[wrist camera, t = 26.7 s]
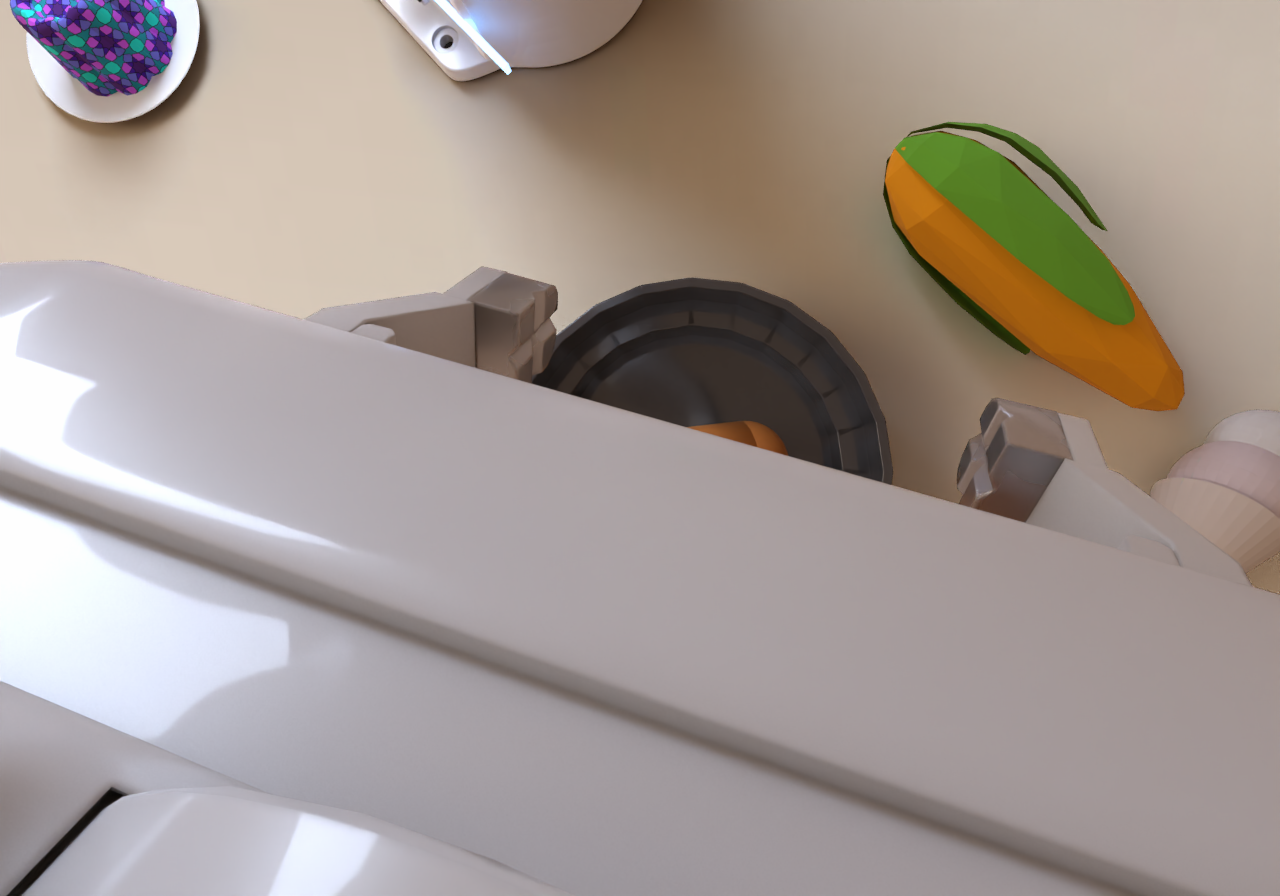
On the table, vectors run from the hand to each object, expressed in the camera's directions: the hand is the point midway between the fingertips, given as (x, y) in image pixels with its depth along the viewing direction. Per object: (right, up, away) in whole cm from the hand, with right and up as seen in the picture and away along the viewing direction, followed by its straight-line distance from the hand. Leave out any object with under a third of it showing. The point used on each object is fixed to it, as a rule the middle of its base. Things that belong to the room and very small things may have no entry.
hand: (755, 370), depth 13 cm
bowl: (+1, -3, +29) cm, 29 cm away
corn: (+19, +8, +28) cm, 35 cm away
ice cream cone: (+28, -6, +27) cm, 39 cm away
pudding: (-36, +25, +33) cm, 55 cm away
